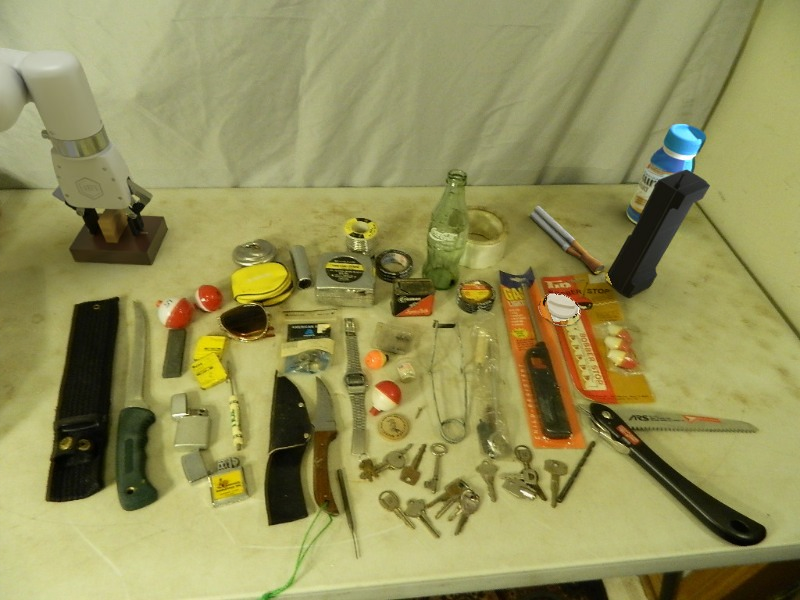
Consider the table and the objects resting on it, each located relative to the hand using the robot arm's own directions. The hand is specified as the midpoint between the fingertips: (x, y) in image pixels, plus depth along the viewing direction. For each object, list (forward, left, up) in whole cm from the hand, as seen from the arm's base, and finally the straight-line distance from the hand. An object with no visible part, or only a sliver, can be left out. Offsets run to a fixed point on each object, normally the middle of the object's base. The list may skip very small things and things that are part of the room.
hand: (117, 230), depth 93 cm
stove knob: (+78, -12, -4) cm, 79 cm away
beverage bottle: (+103, +16, -4) cm, 104 cm away
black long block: (+93, -4, -4) cm, 93 cm away
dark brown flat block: (0, 0, -3) cm, 3 cm away
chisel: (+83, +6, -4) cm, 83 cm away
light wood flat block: (0, 0, 0) cm, 0 cm away
